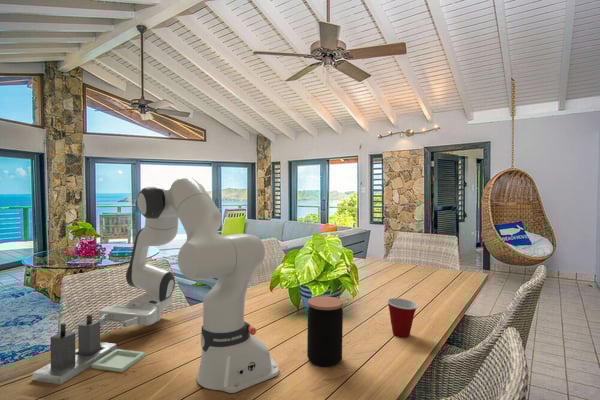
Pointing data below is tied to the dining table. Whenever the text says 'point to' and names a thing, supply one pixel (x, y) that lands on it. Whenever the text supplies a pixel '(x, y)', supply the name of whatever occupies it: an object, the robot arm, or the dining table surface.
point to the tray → (118, 360)
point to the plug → (89, 337)
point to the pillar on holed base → (68, 358)
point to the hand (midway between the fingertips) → (112, 323)
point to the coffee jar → (325, 331)
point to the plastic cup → (401, 316)
